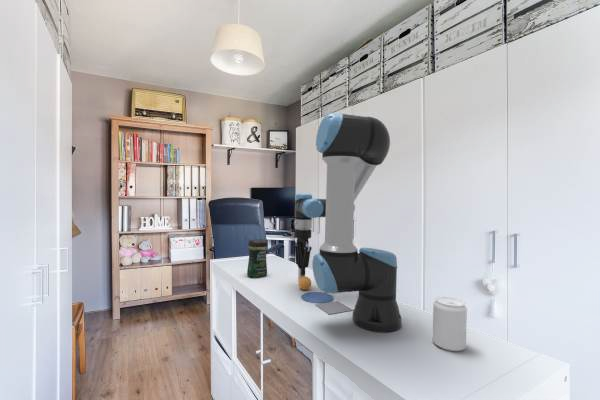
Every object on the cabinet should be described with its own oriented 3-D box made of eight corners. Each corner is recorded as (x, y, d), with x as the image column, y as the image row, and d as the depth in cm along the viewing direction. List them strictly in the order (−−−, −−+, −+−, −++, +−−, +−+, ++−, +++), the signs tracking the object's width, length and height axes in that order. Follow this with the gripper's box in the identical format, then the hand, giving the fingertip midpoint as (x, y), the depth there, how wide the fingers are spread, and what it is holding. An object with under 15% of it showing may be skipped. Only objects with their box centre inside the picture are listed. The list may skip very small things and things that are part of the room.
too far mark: (353, 310, 104) (353, 309, 104) (329, 314, 100) (329, 314, 100) (337, 301, 113) (337, 300, 113) (314, 305, 109) (314, 304, 109)
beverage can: (458, 339, 84) (458, 297, 84) (471, 354, 76) (472, 307, 76) (428, 337, 85) (429, 295, 85) (438, 351, 77) (439, 305, 77)
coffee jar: (252, 279, 142) (253, 240, 142) (245, 275, 149) (245, 238, 149) (269, 276, 148) (270, 239, 148) (262, 273, 154) (262, 237, 154)
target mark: (340, 300, 115) (340, 300, 115) (310, 305, 109) (310, 304, 109) (323, 290, 126) (323, 290, 126) (295, 294, 121) (295, 294, 121)
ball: (309, 290, 129) (314, 286, 125) (298, 292, 127) (303, 287, 123) (306, 278, 132) (311, 274, 128) (295, 279, 130) (300, 275, 126)
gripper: (289, 227, 135) (287, 279, 135) (301, 230, 123) (300, 287, 123) (303, 227, 138) (302, 277, 138) (317, 230, 126) (316, 285, 127)
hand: (301, 282), depth 131 cm, fingers closed
